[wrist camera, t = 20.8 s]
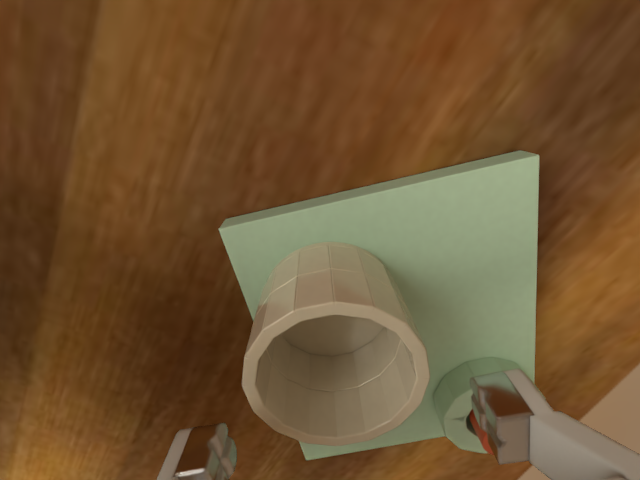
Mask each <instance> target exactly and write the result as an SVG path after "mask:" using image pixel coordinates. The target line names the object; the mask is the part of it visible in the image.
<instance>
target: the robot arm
mask: <svg viewBox="0 0 640 480" xmlns="http://www.w3.org/2000/svg"><path fill="white" fill-rule="evenodd" d="M469 381H470V388H471V390H472V391H473V394H472V396H471V404H472V408H473V412H474V415H475V417H476V420H477V422H478V424H479V426H480V428H481V429H482V430H483V431H485V432H486V433H487V437H488V444H489V446H490V448H491V450H492V452H493V454H494V456H495V457H496V459H497V461H498V463H499V465H500V464H507V463H515V462H523V461H530V463H531V464H532V465H534V466H535V467H536V468H537V469H538V470H540V471H541V472H542V473H543V474H545V475H546V476H547V477H548V478H550V479H551V480H640V454H638V453H636V452H635V451H633V450H631V449H629V448H627V447H625V446H623V445H622V444H620V443H617V442H616V441H614V440H612V439H611V438H609V437H607V436H605V435H603V434H601V433H599V432H598V431H596V430H594V429H592V428H590V427H588V426H587V425H585V424H583V423H581V422H579V421H577V420H576V419H574V418H572V417H570V416H568V415H566V414H564V413H563V412H561V411H557V412H555V411H554V410H553V409H552V408H551V406H550V405H549V404H548V403H547V401H546V400H545V399H544V397H543V396H542V395H541V394H540V392H539V391H538V390H537V389H536V387H535V386H534V385H533V383H532V382H531V381H530V380H529V378H528V377H527V376H526V375H525V373H524V372H523V371H522V370H521V369H519V368H518V369H512V370H507V371H502V372H501V371H500V372H495V373H490V374H485V375H480V376H475V377H470V380H469ZM227 433H228V428H227V426H226V424H225V423H218V424H212V425H205V426H199V427H193V428H187V429H181V430H179V431H178V432H177V434H176V435H175V438H174V440H173V442H172V445H171V447H170V449H169V452H168V454H167V456H166V459H165V461H164V463H163V466H162V468H161V470H160V473H159V475H158V477H157V480H229V478H230V476H231V475H232V474H233V472H234V471H235V467H236V462H237V451H236V446H235V443H234V441H233V439H232V438H230V437H229V436H227Z"/></svg>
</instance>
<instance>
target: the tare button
mask: <svg viewBox="0 0 640 480" xmlns="http://www.w3.org/2000/svg"><path fill="white" fill-rule="evenodd" d="M469 419H470V422H471V424H472V426H473V428H474V430H475V432H476V434H477V436H478V438H479V440H480V442H481V444H482V446H483V448H484V449H485V451H487V452H488V453H490V454H492V455H494V454H493V452H492V450H491V448H490V446H489V444H488V437H487V433H486V432H485V431H483V430H482V429H481V428H480V426H479V424H478V422H477V420H476V417H475V415H474V412H473V408H472V410H471V411H470V414H469Z"/></svg>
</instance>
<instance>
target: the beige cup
mask: <svg viewBox="0 0 640 480" xmlns="http://www.w3.org/2000/svg"><path fill="white" fill-rule="evenodd" d="M429 380H430V370H429V363H428V356H427V350H426V347H425V345H424V343H423V341H422V338H421V336H420V334H419V332H418V330H417V327H416V325H415V323H414V321H413V319H412V316H411V314H410V312H409V310H408V307H407V305H406V303H405V301H404V299H403V296H402V294H401V292H400V290H399V288H398V285H397V283H396V282H395V280H394V279H393V277H392V275H391V273H390V272H389V270H388V269H387V267H386V266H385V265H384V264H383V263H382V262H381V261H380V260H379V259H378V258H377V257H376V256H374V255H373V254H371V253H370V252H368V251H366V250H364V249H362V248H360V247H357V246H354V245H351V244H347V243H341V242H322V243H315V244H311V245H308V246H305V247H302V248H300V249H298V250H296V251H294V252H292V253H290V254H289V255H287V256H286V257H285V258H283V259H282V260H281V261H280V262H279V263H278V264H277V265H276V266H275V267H274V269H273V270H272V272H271V273H270V275H269V277H268V278H267V280H266V283H265V286H264V287H263V290H262V293H261V296H260V300H259V304H258V308H257V311H256V315H255V319H254V323H253V326H252V330H251V334H250V337H249V341H248V345H247V349H246V352H245V356H244V364H243V374H242V387H243V390H244V392H245V394H246V397H247V399H248V401H249V403H250V406H251V408H252V410H253V411H254V413H255V414H256V415H257V416H259V417H260V418H261V419H262V420H263V421H264V422H265V423H266V424H268V425H269V426H270V427H271V428H272V429H273V430H274V431H276V432H278V433H281V434H283V435H286V436H288V437H291V438H293V439H296V440H298V441H301V442H303V443H308V444H319V445H330V446H337V445H338V446H342V445H347V444H353V443H359V442H364V441H369V440H372V439H374V438H376V437H378V436H380V435H382V434H384V433H386V432H388V431H390V430H392V429H394V428H396V427H398V426H399V425H401V424H402V423H403V422H404V421H405V420H406V419H407V418H408V417H409V416H410V415H411V414H412V413H413V412H414V411H415V410H416V409H417V408H418V407H419V405H420V404H421V401H422V399H423V396H424V394H425V391H426V388H427V386H428V383H429Z"/></svg>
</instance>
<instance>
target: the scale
mask: <svg viewBox="0 0 640 480" xmlns="http://www.w3.org/2000/svg"><path fill="white" fill-rule="evenodd" d="M538 195H539V155H537V154H533V153H529V152H525V151H521V150H519V151H515V152H511V153H507V154H502V155H498V156H494V157H489V158H485V159H481V160H477V161H472V162H468V163H464V164H459V165H455V166H451V167H447V168H442V169H438V170H434V171H429V172H425V173H421V174H417V175H412V176H408V177H404V178H399V179H395V180H391V181H387V182H382V183H378V184H374V185H369V186H365V187H361V188H357V189H352V190H348V191H344V192H339V193H335V194H331V195H326V196H322V197H318V198H314V199H309V200H305V201H301V202H296V203H292V204H288V205H284V206H279V207H275V208H271V209H266V210H262V211H258V212H254V213H249V214H245V215H241V216H236V217H232V218H228V219H226V220H225V221H224V222H223V224H222V225H221V226H220V228H219V232H220V235H221V237H222V240H223V243H224V245H225V248H226V251H227V253H228V256H229V258H230V261H231V264H232V266H233V269H234V272H235V274H236V277H237V279H238V282H239V285H240V287H241V290H242V293H243V295H244V298H245V301H246V303H247V306H248V308H249V311H250V314H251V316H252V319H253V322H254V319H255V315H256V311H257V308H258V304H259V300H260V296H261V293H262V290H263V287H264V286H265V283H266V280H267V278H268V277H269V275H270V273H271V272H272V270H273V269H274V267H275V266H276V265H277V264H278V263H279V262H280V261H281V260H282V259H283V258H285V257H286V256H287V255H289V254H290V253H292V252H294V251H296V250H298V249H300V248H302V247H305V246H308V245H311V244H315V243H322V242H341V243H347V244H351V245H354V246H357V247H360V248H362V249H364V250H366V251H368V252H370V253H371V254H373V255H374V256H376V257H377V258H378V259H379V260H380V261H381V262H382V263H383V264H384V265H385V266H386V267H387V269H388V270H389V272H390V273H391V275H392V277H393V279H394V280H395V282H396V283H397V285H398V288H399V290H400V292H401V294H402V296H403V299H404V301H405V303H406V305H407V307H408V310H409V312H410V314H411V316H412V319H413V321H414V323H415V325H416V327H417V330H418V332H419V334H420V336H421V338H422V341H423V343H424V345H425V347H426V350H427V356H428V363H429V370H430V380H429V383H428V386H427V388H426V391H425V394H424V396H423V399H422V401H421V404H420V405H419V407H418V408H417V409H416V410H415V411H414V412H413V413H412V414H411V415H410V416H409V417H408V418H407V419H406V420H405V421H404V422H403V423H402V424H401V425H399V426H398V427H396V428H394V429H392V430H390V431H388V432H386V433H384V434H382V435H380V436H378V437H376V438H374V439H372V440H369V441H364V442H359V443H353V444H347V445H342V446H338V445H337V446H330V445H319V444H308V443H303V442H301V441H299V443H300V445H301V448H302V451H303V453H304V456H305V459H306V460H312V459H318V458H324V457H329V456H335V455H341V454H346V453H352V452H358V451H364V450H369V449H375V448H381V447H386V446H392V445H398V444H404V443H409V442H415V441H421V440H427V439H432V438H438V437H444V436H446V437H447V438H448V439H449V440H450V441H452V442H453V443H454V444H455V445H456V446H457V447H459V448H460V449H463V450H468V451H473V452H478V453H488V452H487V451H485V449H484V448H483V446H482V444H481V442H480V440H479V438H478V436H477V434H476V432H475V430H474V428H473V426H472V424H471V422H470V419H469V414H470V411H471V410H472V404H471V396H472V394H473V391H472V390H471V388H470V381H469V380H470V377H475V376H480V375H485V374H490V373H495V372H500V371H501V372H502V371H507V370H512V369H518V368H519V369H521V370H522V371H523V372H524V373H525V375H526V376H527V377H528V378H529V380H530V381H531V382H532V383H533V385H534V386H535V387H536V385H535V384H534V376H535V331H536V286H537V240H538ZM536 389H537V390H538V391H539V389H538V388H537V387H536ZM539 392H540V391H539ZM540 394H541V395H542V396H543V394H542V393H541V392H540ZM543 397H544V396H543ZM544 399H545V397H544ZM545 400H546V399H545Z"/></svg>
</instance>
